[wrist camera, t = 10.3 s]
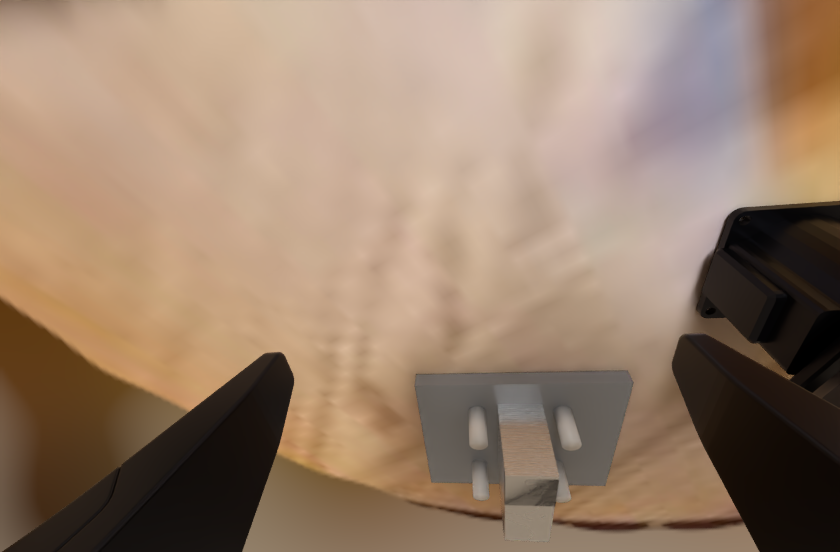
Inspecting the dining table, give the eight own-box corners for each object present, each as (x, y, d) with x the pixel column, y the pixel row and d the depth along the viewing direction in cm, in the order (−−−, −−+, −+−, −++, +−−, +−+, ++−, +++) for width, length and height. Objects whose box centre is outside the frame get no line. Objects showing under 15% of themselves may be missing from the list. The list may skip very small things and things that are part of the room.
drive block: (542, 403, 26) (559, 476, 22) (536, 470, 30) (549, 542, 26) (497, 404, 26) (505, 475, 22) (497, 470, 30) (504, 540, 26)
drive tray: (627, 370, 25) (650, 416, 22) (601, 473, 31) (616, 519, 28) (416, 374, 27) (411, 417, 24) (432, 471, 33) (429, 513, 30)
